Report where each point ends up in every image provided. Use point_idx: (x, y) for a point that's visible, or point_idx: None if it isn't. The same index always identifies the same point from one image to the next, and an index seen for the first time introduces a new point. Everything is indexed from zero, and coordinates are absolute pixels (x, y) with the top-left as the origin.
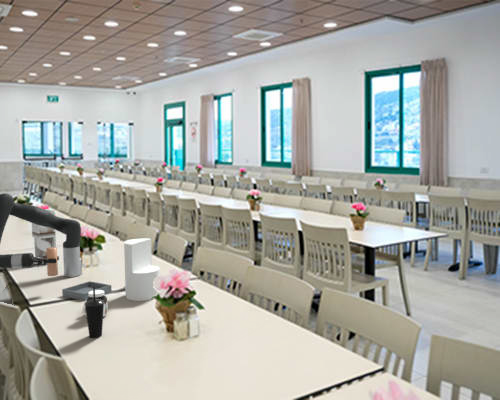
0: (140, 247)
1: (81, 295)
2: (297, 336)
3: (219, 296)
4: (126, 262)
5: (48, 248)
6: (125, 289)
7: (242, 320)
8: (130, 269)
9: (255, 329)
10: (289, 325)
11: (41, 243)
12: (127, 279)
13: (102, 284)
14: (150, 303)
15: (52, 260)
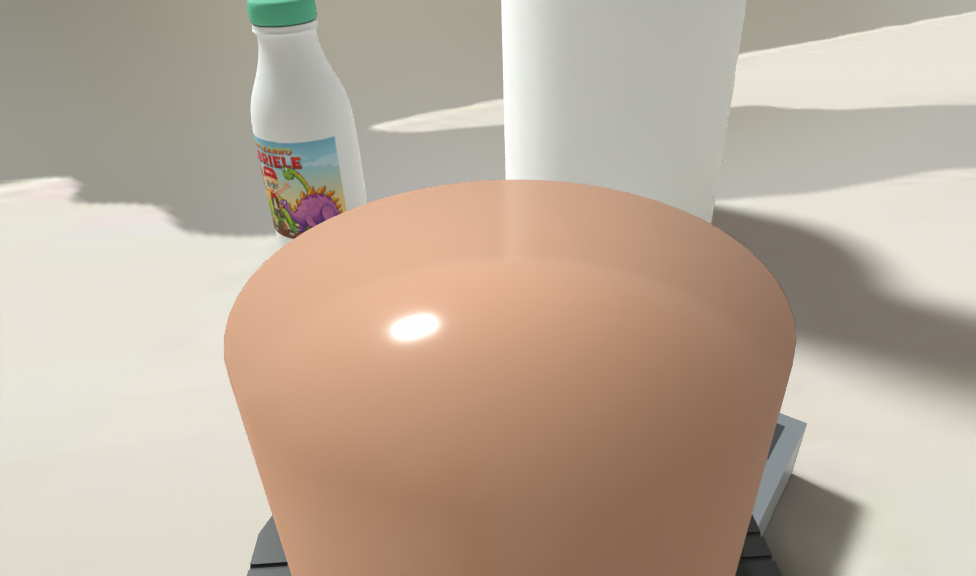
0: None
1: (790, 465)
2: (924, 34)
3: None
4: (717, 16)
5: (579, 388)
6: None
7: (853, 70)
8: (732, 57)
9: (917, 59)
10: (852, 38)
11: None
12: (702, 144)
13: None
14: (745, 199)
15: (757, 548)
